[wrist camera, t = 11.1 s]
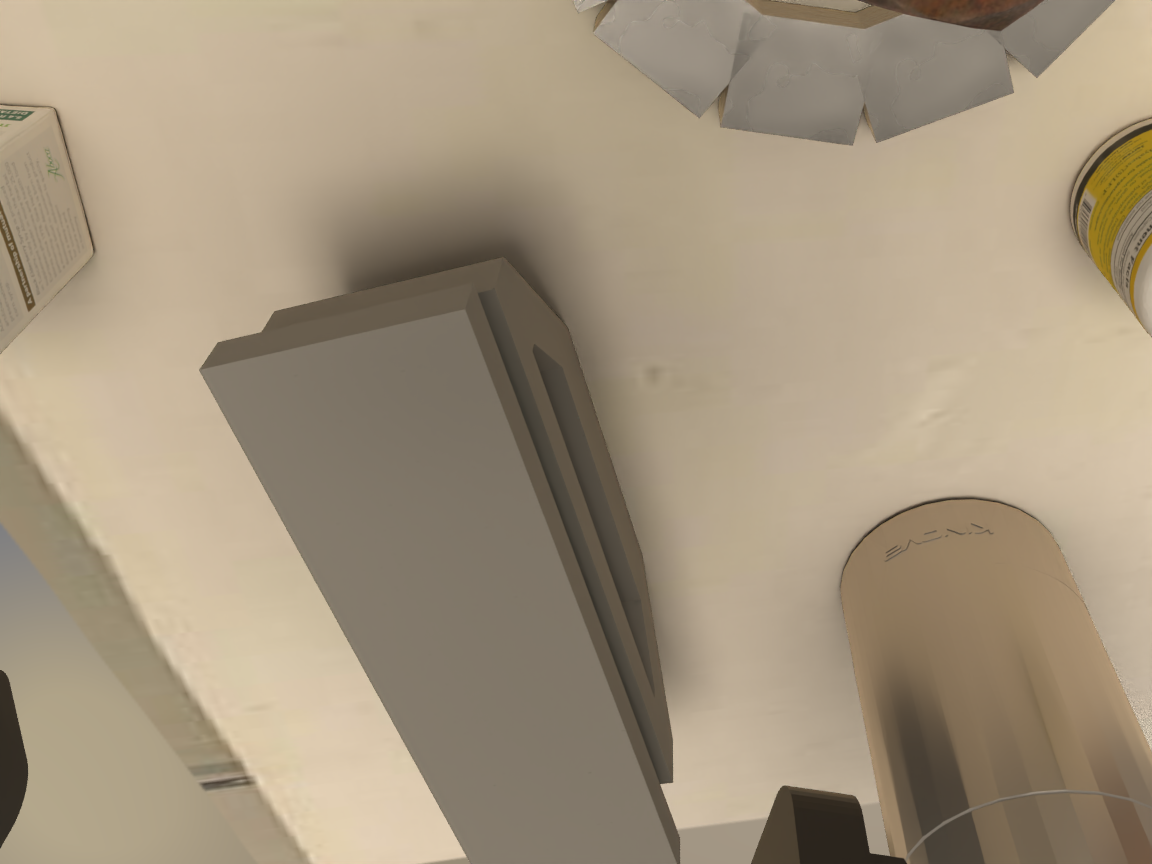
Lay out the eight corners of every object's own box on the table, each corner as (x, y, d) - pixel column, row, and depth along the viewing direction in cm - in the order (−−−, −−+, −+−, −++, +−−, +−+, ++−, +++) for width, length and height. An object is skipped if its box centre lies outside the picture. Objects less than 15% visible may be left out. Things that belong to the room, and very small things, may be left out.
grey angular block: (677, 662, 51) (680, 872, 42) (517, 686, 52) (487, 893, 43) (512, 159, 37) (465, 309, 29) (305, 212, 39) (198, 370, 30)
